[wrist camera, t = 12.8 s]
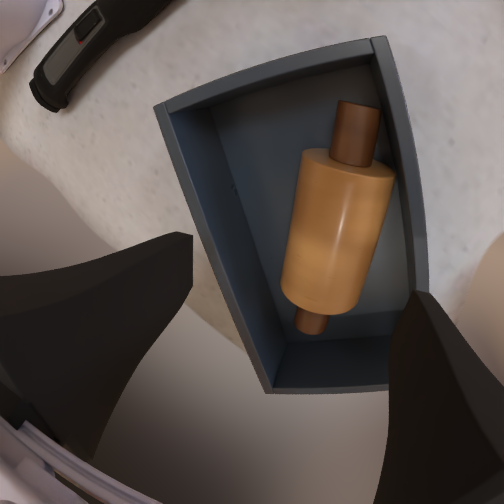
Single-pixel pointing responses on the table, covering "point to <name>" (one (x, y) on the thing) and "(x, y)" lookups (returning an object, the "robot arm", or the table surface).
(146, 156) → the table surface
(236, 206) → the tin
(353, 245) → the rolling pin
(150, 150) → the table surface
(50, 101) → the electric trimmer
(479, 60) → the table surface
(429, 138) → the table surface
